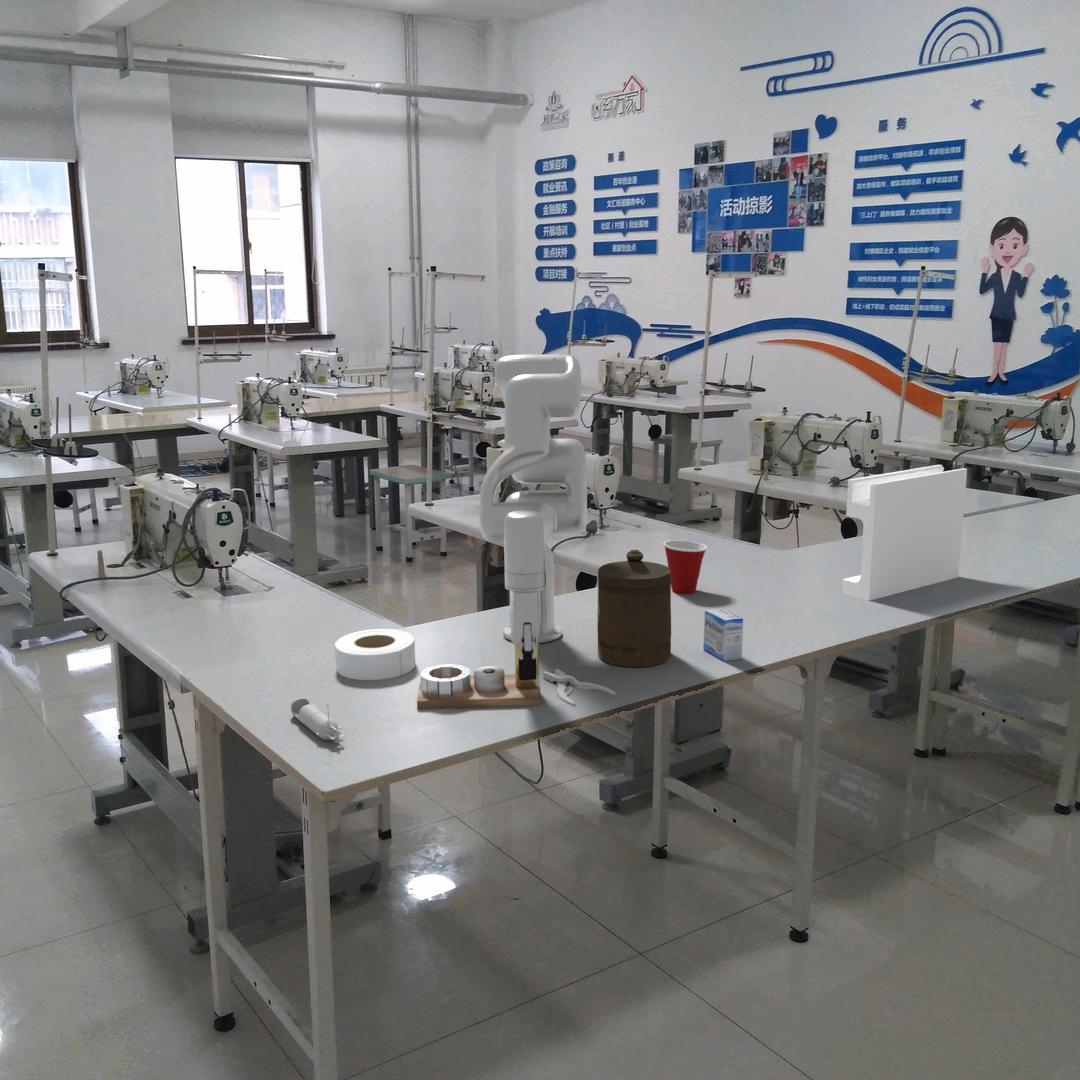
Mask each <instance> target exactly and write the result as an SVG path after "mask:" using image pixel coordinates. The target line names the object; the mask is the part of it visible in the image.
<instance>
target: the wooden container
mask: <svg viewBox="0 0 1080 1080" xmlns="http://www.w3.org/2000/svg"><path fill="white" fill-rule="evenodd" d="M625 556H626V559H627V560H621V561H612V562H609V563H606V564H603V565H601V566H599V568H598V570H597V572H598V574H597V583H598V584H597V585H598V586H597V624H596V625H597V626H596V627H597V656H598V658H599V659H600V660H601V661H603V662H605V663H608V664H610V665H614V666H618V667H624V668H645V667H652V666H653V667H654V666H657V665H661V664H663V663H665V662H667V661H669V659H671V654H672V653H671V652H672V649H671V648H672V641H671V640H672V608H671V607H672V603H671V602H672V600H671V599H672V598H671V597H672V596H671V595H672V593H671V590H672V588H671V571H670V569H669V568H668V565H664V564H661V563H657V562H652V561H643V559H644V553H643V552H642V551H640V550H639V549H631V550H629V551H628V552H627V553H626V555H625Z"/></svg>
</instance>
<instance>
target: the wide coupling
mask: <svg viewBox="0 0 1080 1080" xmlns="http://www.w3.org/2000/svg"><path fill="white" fill-rule="evenodd" d="M470 676H471V669H470V668H468V667H466V666H464V665H460V664H455V663H442V664H437V665H433V666H428V667H426V668H424V669H422V670H421V672H420V679H421V691H422V692H423V693H425V694H426V695H429V696H434V697H451V696H452V697H454V696H458V695H462V694H465V693H466V692H468V691H469V690H470V689H471V681H470Z"/></svg>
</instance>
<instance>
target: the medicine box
mask: <svg viewBox="0 0 1080 1080" xmlns="http://www.w3.org/2000/svg"><path fill="white" fill-rule="evenodd" d="M703 623H704V625H703V645H702V648H703V649H702V650H703V651H704V652H705V653H708V654H710V655H712V656H714V657H715V658H717V659H719V660H721V661H723V662H728V661H729V662H730V661H736V660H740V659H742V658H743V639H744V638H743V633H744V619H743V618H742V617H740V616H738V615H736V614H734V613H732V612H730V611H728V610H726V609H724V608H711V609H708V610H707V609H706V610H704V622H703Z"/></svg>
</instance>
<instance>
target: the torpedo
mask: <svg viewBox="0 0 1080 1080" xmlns="http://www.w3.org/2000/svg"><path fill="white" fill-rule="evenodd" d="M326 705H327V708H329V703H327V704H326ZM290 712H291V714H292V716H293V717H294V718H296V719H297V720H298V721H299V722H300V723H301V724H303V725H304V726H305V727H306V728H308V729H309V730H311V732H313V733H314V734H315V735H316V736H318V738H320V739H321V740H322V741H323V740H324V741H333V742H334V743H337V745H339V746H340V745H341V742H340V738H342V737H345V735H344V734H343V733H342V732H341V731H340V729H341V730H342V729H343V728H344V727H343V726H342V727H341V726H339V725H338V723H337V721H335V720H334V719H333V718H331V717H330V714H329V713H330V712H329V710H327V713H325V712H324V711H323V710H322V709H321V708H319V707H317V706H316V705H315V704H313V703H311V704H310V701H309V700H308V699H307V698H305V697H304V698H303V697H299V698H296V699H294V700H292V702H291V703H290Z"/></svg>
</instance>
